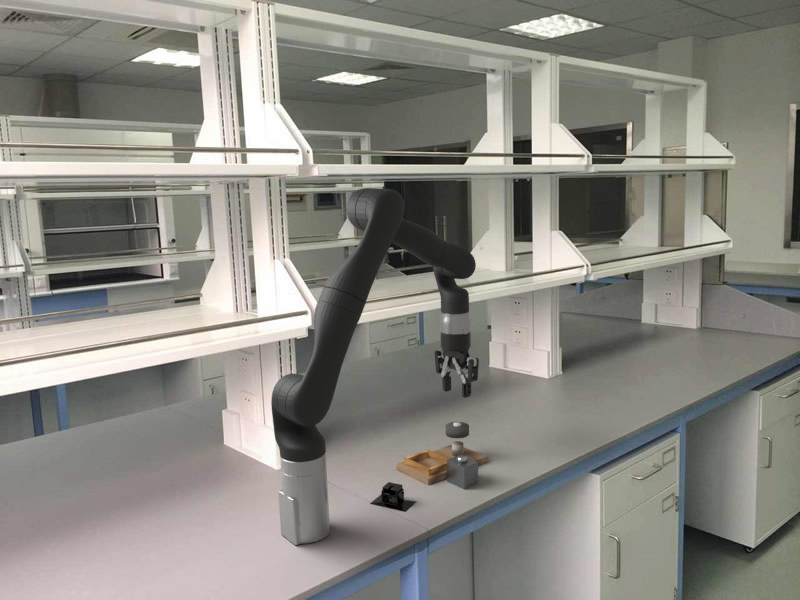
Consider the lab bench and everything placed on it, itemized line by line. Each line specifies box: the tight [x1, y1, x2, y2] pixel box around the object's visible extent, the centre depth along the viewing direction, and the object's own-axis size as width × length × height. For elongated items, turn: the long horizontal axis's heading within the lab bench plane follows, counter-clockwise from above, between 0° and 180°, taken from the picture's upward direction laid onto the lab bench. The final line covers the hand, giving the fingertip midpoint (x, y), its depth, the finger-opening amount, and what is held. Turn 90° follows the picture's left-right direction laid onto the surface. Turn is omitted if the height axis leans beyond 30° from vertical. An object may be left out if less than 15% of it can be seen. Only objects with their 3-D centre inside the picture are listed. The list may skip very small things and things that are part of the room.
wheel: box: [445, 421, 470, 439], centre depth 170 cm, size 6×6×3 cm
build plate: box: [369, 481, 417, 513], centre depth 148 cm, size 12×7×5 cm, turn 62°
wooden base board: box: [396, 440, 488, 486], centre depth 167 cm, size 20×12×4 cm, turn 129°
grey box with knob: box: [446, 455, 479, 490], centre depth 157 cm, size 5×6×6 cm
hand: (456, 393), depth 168 cm, fingers open, 6 cm apart
